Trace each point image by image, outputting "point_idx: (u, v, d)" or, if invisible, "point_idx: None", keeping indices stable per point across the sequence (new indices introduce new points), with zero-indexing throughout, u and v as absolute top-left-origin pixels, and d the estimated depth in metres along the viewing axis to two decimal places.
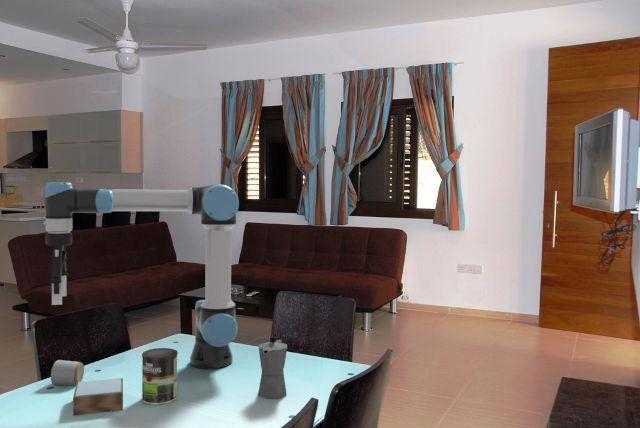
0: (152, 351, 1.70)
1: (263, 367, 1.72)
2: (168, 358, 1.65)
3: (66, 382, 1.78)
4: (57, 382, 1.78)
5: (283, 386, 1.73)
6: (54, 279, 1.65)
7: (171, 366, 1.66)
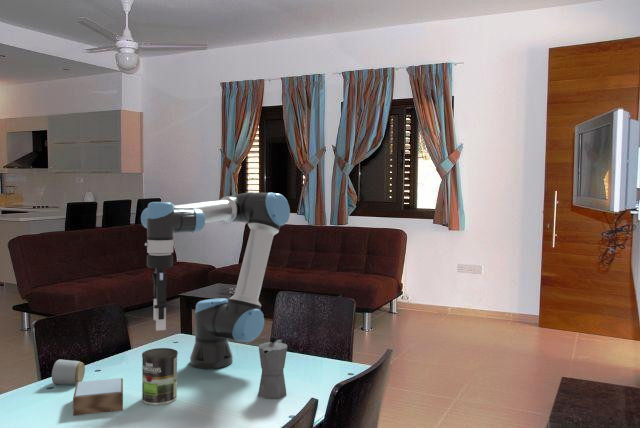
0: (152, 351, 1.70)
1: (263, 367, 1.72)
2: (168, 358, 1.65)
3: (67, 381, 1.78)
4: (58, 381, 1.78)
5: (283, 386, 1.73)
6: (160, 304, 1.58)
7: (171, 366, 1.66)
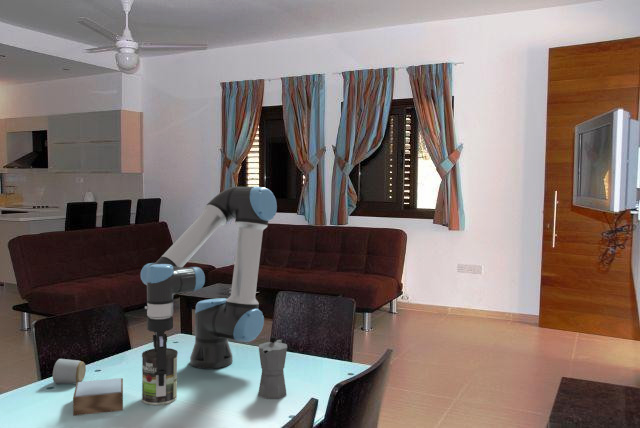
0: (152, 351, 1.70)
1: (263, 367, 1.72)
2: (168, 358, 1.65)
3: (68, 381, 1.79)
4: (59, 381, 1.79)
5: (283, 386, 1.73)
6: (160, 372, 1.61)
7: (171, 366, 1.66)
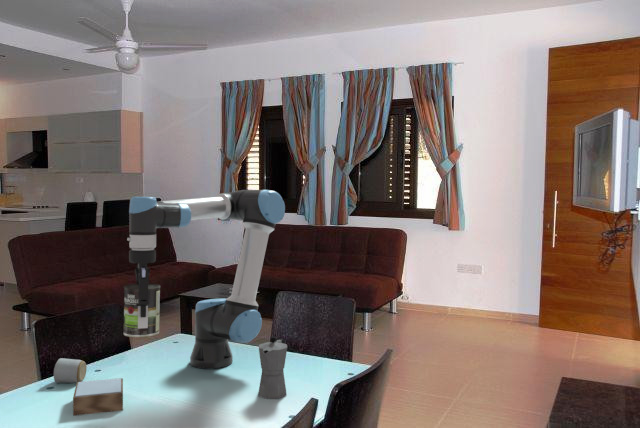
0: (134, 285, 1.68)
1: (263, 367, 1.72)
2: (150, 290, 1.62)
3: (69, 380, 1.80)
4: (60, 380, 1.80)
5: (283, 386, 1.73)
6: (142, 302, 1.58)
7: (153, 299, 1.63)
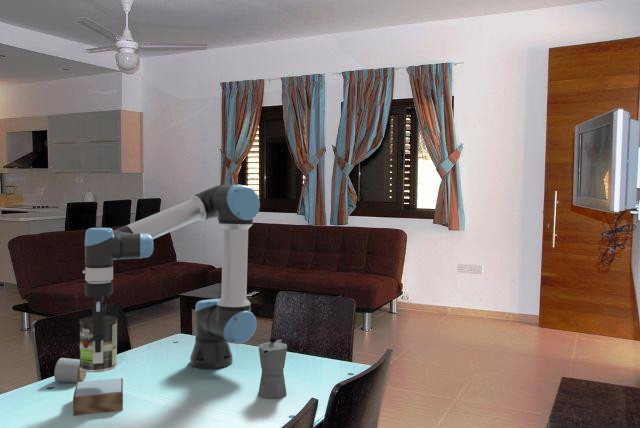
0: (91, 318, 1.65)
1: (263, 367, 1.72)
2: (106, 324, 1.59)
3: (69, 380, 1.80)
4: (60, 380, 1.80)
5: (283, 386, 1.73)
6: (96, 337, 1.55)
7: (109, 333, 1.60)
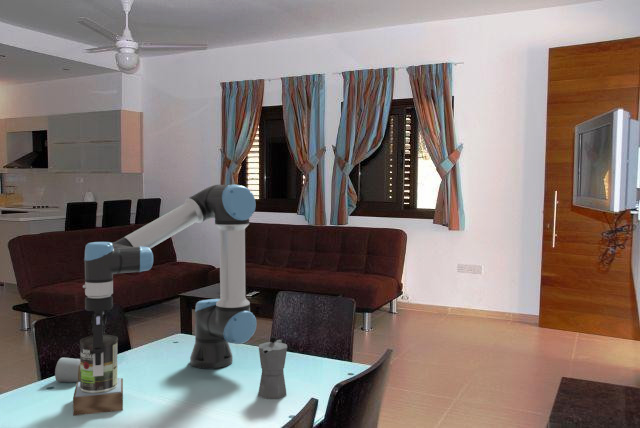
0: (91, 338, 1.65)
1: (263, 367, 1.72)
2: (106, 344, 1.59)
3: (70, 379, 1.80)
4: (61, 379, 1.80)
5: (283, 386, 1.73)
6: (96, 350, 1.54)
7: (109, 353, 1.60)
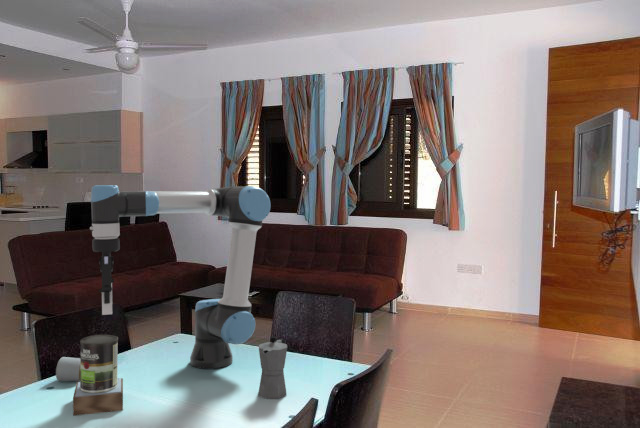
0: (92, 338, 1.65)
1: (263, 367, 1.72)
2: (106, 344, 1.59)
3: (71, 378, 1.81)
4: (62, 378, 1.81)
5: (283, 386, 1.73)
6: (105, 288, 1.56)
7: (110, 353, 1.60)
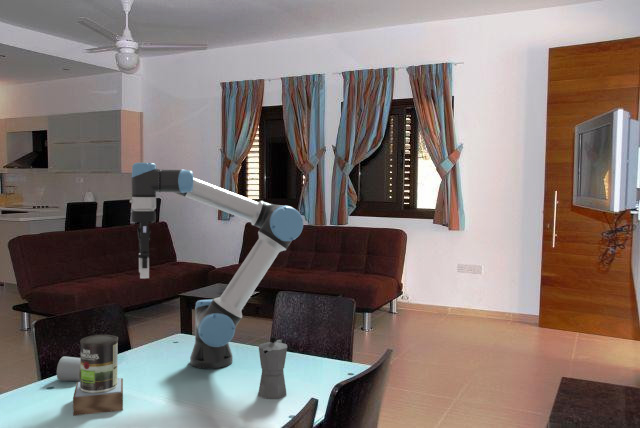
0: (92, 338, 1.65)
1: (263, 367, 1.72)
2: (106, 344, 1.59)
3: (71, 378, 1.82)
4: (63, 378, 1.82)
5: (283, 386, 1.73)
6: (143, 254, 1.74)
7: (110, 353, 1.60)
